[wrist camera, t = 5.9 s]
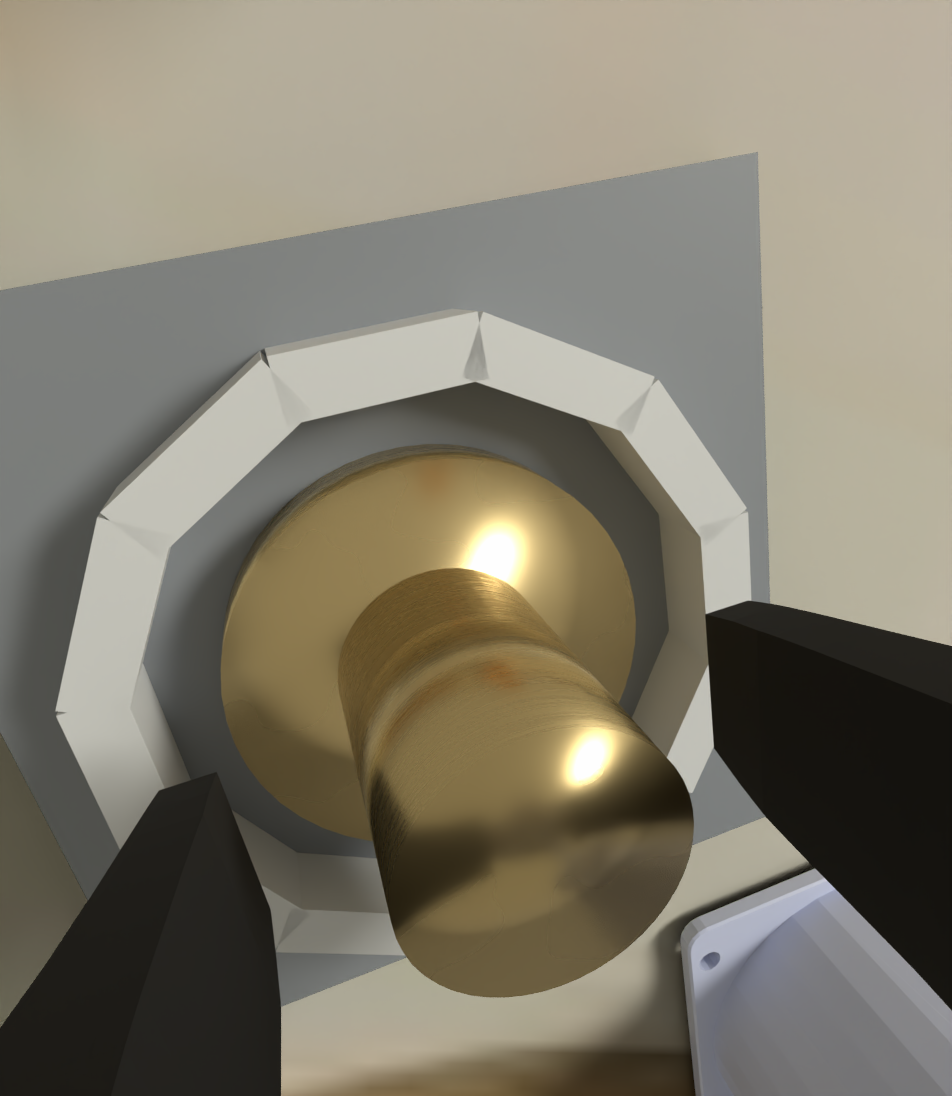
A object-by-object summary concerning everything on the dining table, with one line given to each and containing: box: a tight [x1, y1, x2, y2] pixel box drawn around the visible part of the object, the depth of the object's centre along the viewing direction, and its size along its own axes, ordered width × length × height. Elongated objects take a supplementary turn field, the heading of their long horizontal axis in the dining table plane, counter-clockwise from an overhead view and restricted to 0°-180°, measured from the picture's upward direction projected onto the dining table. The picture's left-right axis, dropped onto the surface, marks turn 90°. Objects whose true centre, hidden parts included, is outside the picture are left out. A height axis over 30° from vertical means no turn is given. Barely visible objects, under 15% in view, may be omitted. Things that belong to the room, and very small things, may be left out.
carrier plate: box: [0, 152, 770, 1006], centre depth 11 cm, size 12×12×2 cm
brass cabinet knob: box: [221, 444, 694, 997], centre depth 9 cm, size 6×6×5 cm
